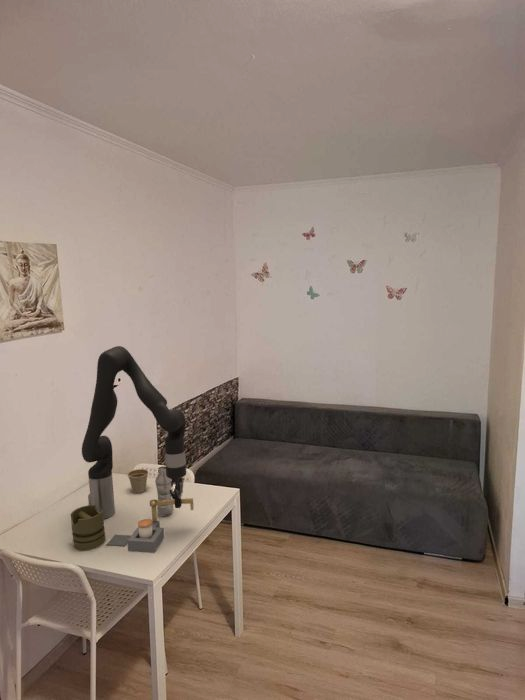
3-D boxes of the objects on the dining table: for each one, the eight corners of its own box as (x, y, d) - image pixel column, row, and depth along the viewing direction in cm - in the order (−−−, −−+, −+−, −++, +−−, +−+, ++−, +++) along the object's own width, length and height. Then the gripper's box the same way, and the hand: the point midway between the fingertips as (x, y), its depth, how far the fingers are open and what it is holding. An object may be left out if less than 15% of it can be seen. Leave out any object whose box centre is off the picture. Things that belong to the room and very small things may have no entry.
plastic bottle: (170, 518, 198) (167, 471, 195) (154, 517, 199) (151, 470, 196) (176, 510, 204) (173, 465, 201) (161, 509, 205) (158, 464, 202)
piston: (93, 502, 187) (108, 511, 180) (96, 531, 189) (111, 541, 181) (65, 513, 179) (79, 523, 171) (68, 543, 181) (82, 554, 173)
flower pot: (146, 495, 219) (145, 477, 218) (126, 495, 219) (124, 477, 218) (151, 486, 229) (150, 468, 227) (131, 486, 229) (130, 469, 227)
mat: (106, 545, 179) (106, 544, 178) (115, 535, 185) (114, 534, 185) (124, 546, 177) (124, 545, 177) (132, 536, 184) (132, 535, 184)
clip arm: (193, 511, 186) (192, 500, 185) (149, 513, 185) (148, 503, 184) (193, 507, 189) (193, 497, 188) (150, 509, 188) (150, 499, 187)
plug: (137, 547, 177) (135, 525, 175) (142, 539, 182) (141, 518, 180) (150, 548, 176) (149, 526, 174) (155, 540, 181) (154, 519, 180)
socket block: (128, 550, 175) (125, 523, 173) (144, 529, 189) (142, 503, 188) (154, 552, 173) (152, 524, 171) (168, 530, 188) (167, 505, 186)
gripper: (181, 469, 175) (184, 515, 177) (189, 457, 188) (191, 499, 190) (161, 470, 176) (163, 515, 178) (170, 457, 189) (172, 499, 191)
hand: (178, 507), depth 184 cm, fingers closed
